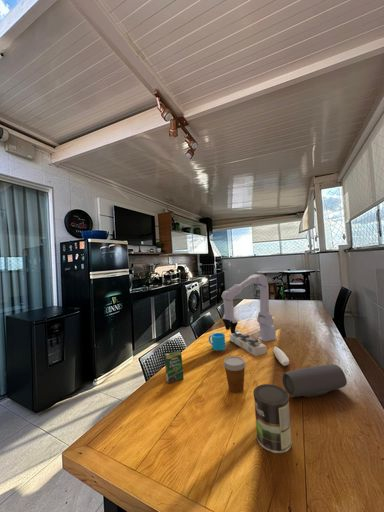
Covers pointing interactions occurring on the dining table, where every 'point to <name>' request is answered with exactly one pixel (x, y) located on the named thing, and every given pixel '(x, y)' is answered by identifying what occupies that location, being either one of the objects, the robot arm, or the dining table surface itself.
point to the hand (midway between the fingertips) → (230, 331)
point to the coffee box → (173, 366)
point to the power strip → (249, 345)
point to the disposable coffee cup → (235, 373)
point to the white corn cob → (281, 356)
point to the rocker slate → (253, 340)
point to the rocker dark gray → (244, 336)
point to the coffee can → (272, 418)
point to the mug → (218, 341)
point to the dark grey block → (237, 332)
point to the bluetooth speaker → (314, 380)
